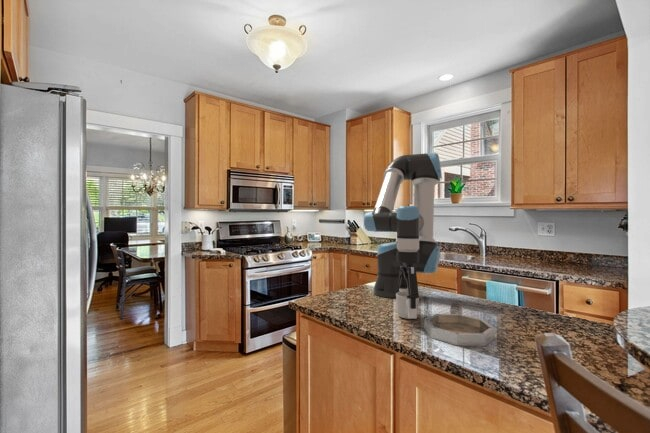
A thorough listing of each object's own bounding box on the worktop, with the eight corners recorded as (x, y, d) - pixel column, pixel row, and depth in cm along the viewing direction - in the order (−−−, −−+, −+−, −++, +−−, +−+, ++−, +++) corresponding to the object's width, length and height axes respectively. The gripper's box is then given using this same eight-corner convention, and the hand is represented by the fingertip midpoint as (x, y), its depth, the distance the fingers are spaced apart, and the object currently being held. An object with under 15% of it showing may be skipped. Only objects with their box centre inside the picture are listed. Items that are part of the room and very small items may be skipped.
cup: (421, 324, 106) (421, 299, 106) (396, 322, 107) (396, 298, 107) (418, 314, 116) (418, 292, 116) (395, 312, 118) (395, 291, 118)
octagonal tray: (419, 322, 107) (419, 313, 107) (475, 323, 106) (475, 314, 106) (437, 345, 89) (437, 334, 89) (505, 346, 88) (505, 335, 88)
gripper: (390, 247, 124) (390, 302, 124) (404, 254, 99) (404, 323, 99) (410, 247, 124) (409, 302, 124) (429, 254, 99) (429, 323, 99)
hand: (407, 312), depth 112 cm, fingers open, 13 cm apart
